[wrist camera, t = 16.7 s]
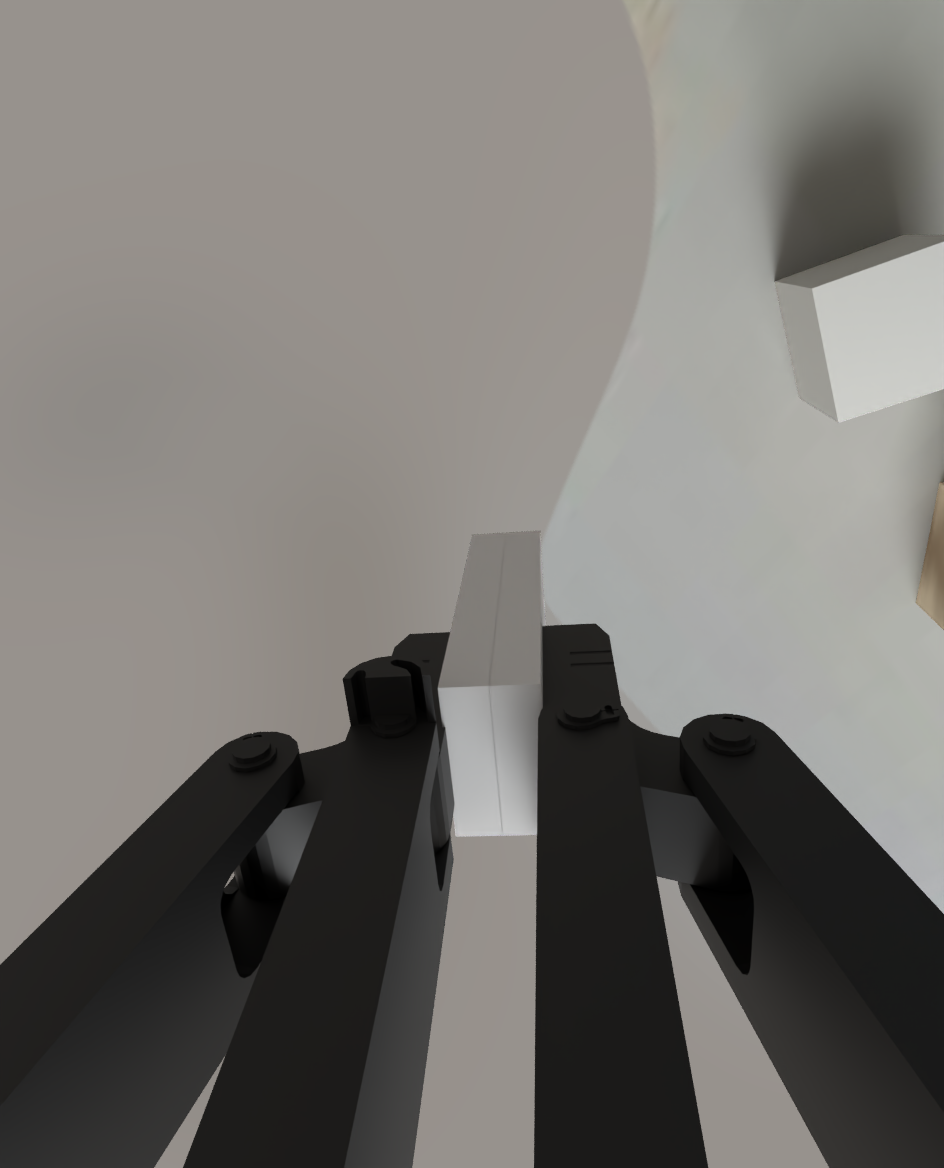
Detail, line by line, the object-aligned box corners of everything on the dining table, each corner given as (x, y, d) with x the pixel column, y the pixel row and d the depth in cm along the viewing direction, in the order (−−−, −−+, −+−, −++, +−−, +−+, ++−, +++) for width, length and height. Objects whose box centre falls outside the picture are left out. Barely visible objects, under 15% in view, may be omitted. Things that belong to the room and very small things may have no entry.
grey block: (774, 281, 39) (811, 288, 34) (902, 234, 38) (962, 234, 33) (799, 398, 41) (838, 422, 36) (921, 357, 40) (981, 376, 35)
